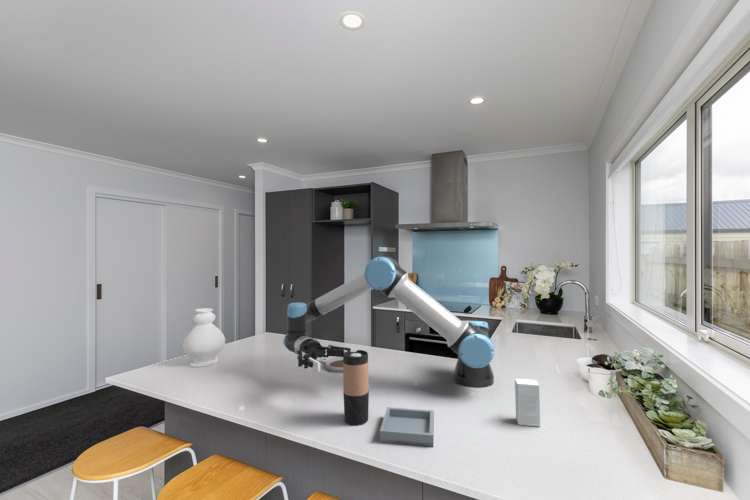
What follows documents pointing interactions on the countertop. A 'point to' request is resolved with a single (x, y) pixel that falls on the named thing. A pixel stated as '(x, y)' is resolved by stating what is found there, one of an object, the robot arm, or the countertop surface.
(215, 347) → the decorative vase
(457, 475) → the countertop surface
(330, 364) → the frying pan
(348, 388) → the travel mug
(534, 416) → the skincare box
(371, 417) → the countertop surface
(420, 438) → the tray
